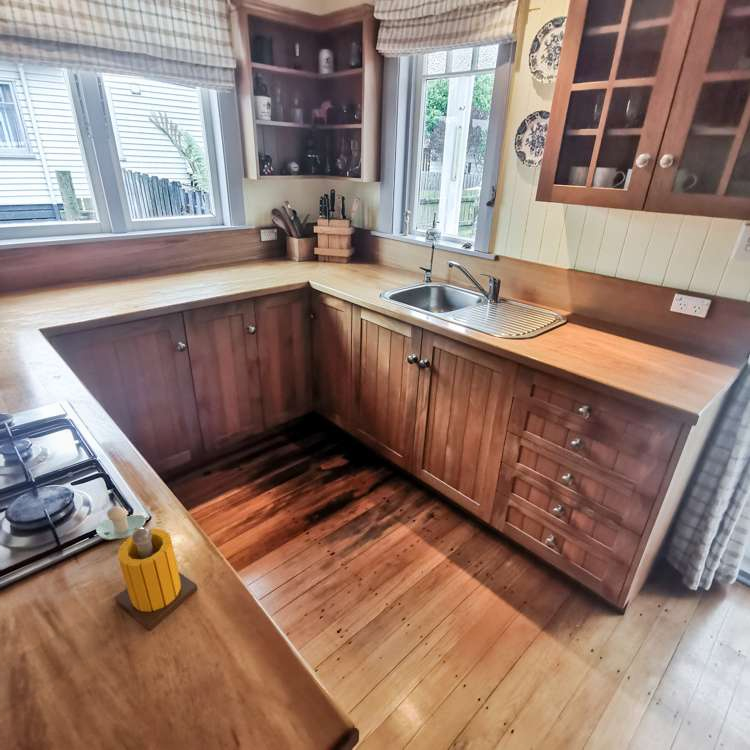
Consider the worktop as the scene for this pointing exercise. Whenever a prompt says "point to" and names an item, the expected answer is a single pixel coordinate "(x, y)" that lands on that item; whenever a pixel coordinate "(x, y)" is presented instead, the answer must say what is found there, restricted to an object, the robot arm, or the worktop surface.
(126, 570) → the yellow grooved hollow cylinder
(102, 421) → the worktop surface
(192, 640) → the worktop surface
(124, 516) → the pacifier
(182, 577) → the stand
